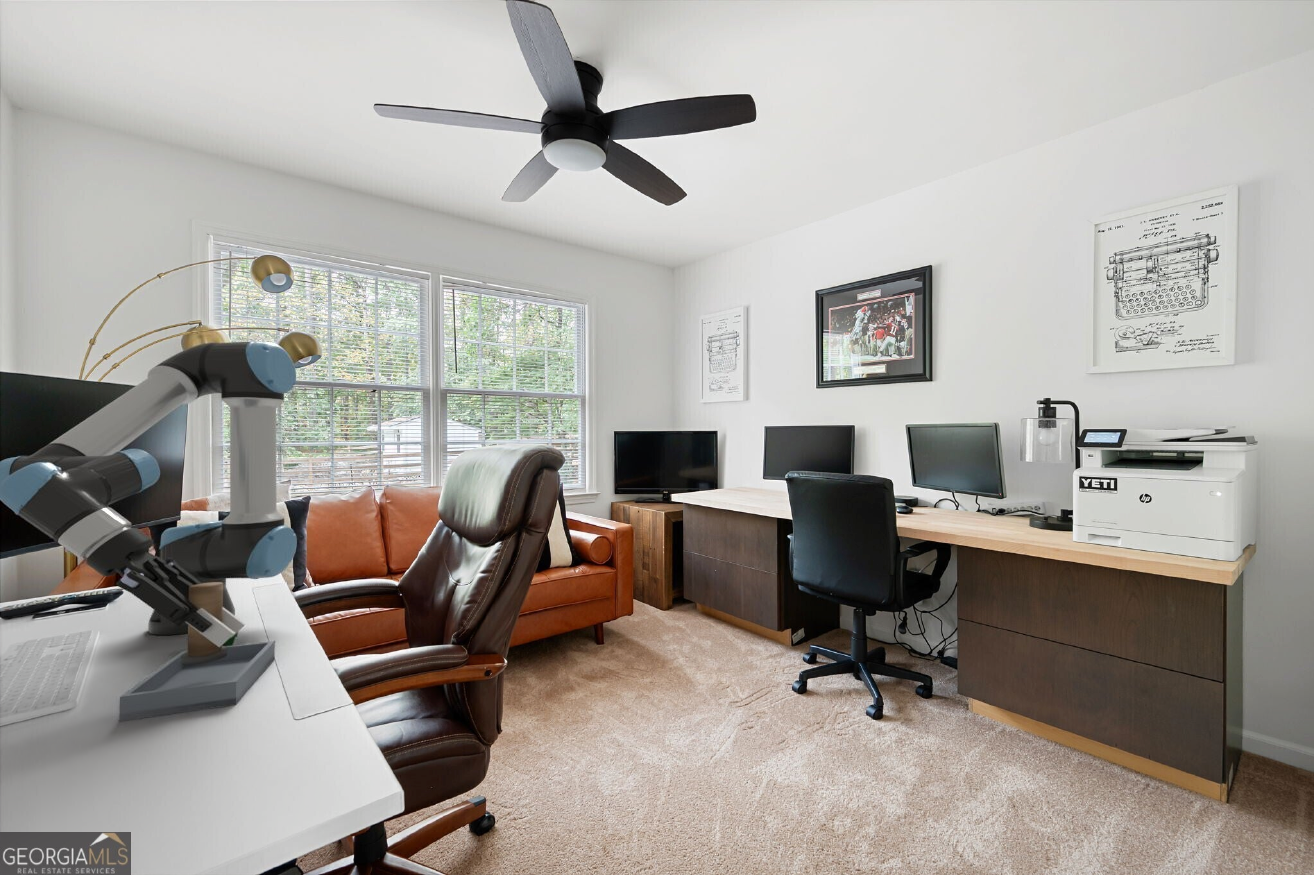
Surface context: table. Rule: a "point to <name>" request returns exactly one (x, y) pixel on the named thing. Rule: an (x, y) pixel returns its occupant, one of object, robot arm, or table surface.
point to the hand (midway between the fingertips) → (232, 635)
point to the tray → (197, 683)
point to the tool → (198, 645)
